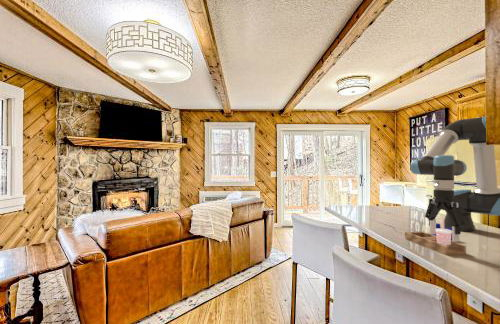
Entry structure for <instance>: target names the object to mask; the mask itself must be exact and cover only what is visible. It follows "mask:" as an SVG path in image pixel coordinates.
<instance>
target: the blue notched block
mask: <svg viewBox="0 0 500 324" xmlns="http://www.w3.org/2000/svg"><path fill="white" fill-rule="evenodd" d="M437 228H441V224H440V223H437V222H436V229H437ZM441 229H442V228H441ZM444 229H448V230H451V231H452V228H445V227H444ZM432 235H435V236H436V234H432ZM451 241H452V233H451Z"/></svg>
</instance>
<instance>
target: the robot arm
mask: <svg viewBox="0 0 500 324" xmlns="http://www.w3.org/2000/svg"><path fill="white" fill-rule="evenodd" d="M486 117H487V116H481V117H480V116H479V117H473V118H464V119H458V120H456V121H453V122H451V123H449V124H448V125H446V126H445V127H443V128H442V129H441V130H440V131H439V133H438V134H437V138H436V139H435V140H434V142H433V144H432V145H431V146H430V147H429V148H428V149H427V150H426V152H425V153H424V155H423V156H422V157H421V158H420V159H414V160H412V161H411V162H410V171H411V173H412V174H414V175H421V176H422V175H424V176H425V175H427V176H428V175H429V176H433V188H434V189H433V197H434V198H429V199H428V205H427V209H426V213H425V215H424V217H425V218H427V220H428V226H429V234H436V230H435V229H436V223H437V219H436V217H437V216H438V215H439V213H440V212H441V211H445V212H446V214H445V216H444V218H443V219H444V229H445V228H452V240H451V241H453V242H456V243H459V242H460V235H461V232H475V231H476V225H475V224H474V221H473V218H472V213H475V214H481V215H490V216H500V188H499V187H498V177H497V176H498V175H497V164H496V153H495V150H496V149H495V144H494V145H486ZM458 141H468V144H469V145H471V146H472V149H473V161H474V172H475V173H474V174H475V185H476V188H475V189H473V190H471V189H455V176H456V177H459V176H461V175H464V174H465V173H466V172H467V169H468V168H467V164H466V163H465V162H464V161H463V160H460V159H455V156H454V155H450V154H448V155H447V154H446V153H447V152H448V151H449V149H450V148H451V146H452V145H454V144H456V143H457V142H458ZM445 154H446V155H445ZM472 191H473V192H472Z"/></svg>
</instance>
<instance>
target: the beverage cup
mask: <svg viewBox="0 0 500 324" xmlns="http://www.w3.org/2000/svg"><path fill="white" fill-rule="evenodd" d="M444 219H445V218H443V219H442V228H437V229H435V230H436V236H437V243H439V244H442V245H451V241H452V240H451V233H452V231H451V230H448V229H445V227H444Z"/></svg>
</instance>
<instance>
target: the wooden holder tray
mask: <svg viewBox="0 0 500 324" xmlns="http://www.w3.org/2000/svg"><path fill="white" fill-rule="evenodd" d="M404 239H405V240H406V241H409V242H412V243H414V244H417V245H419V246H422V247H425V248H427V249H429V250H432V251H434V252H437V253H440V254H442V255H444V256H449V255H450V256H452V255H466V254H467V245H465V244H462V243H459V242H453V241H452V240H451V245H442V244H439V243H437V236H435V235H432V234H430V232H429V233H428V232H426V231H405V232H404Z"/></svg>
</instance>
